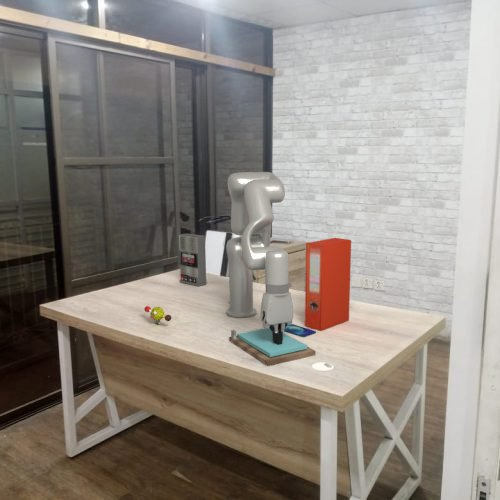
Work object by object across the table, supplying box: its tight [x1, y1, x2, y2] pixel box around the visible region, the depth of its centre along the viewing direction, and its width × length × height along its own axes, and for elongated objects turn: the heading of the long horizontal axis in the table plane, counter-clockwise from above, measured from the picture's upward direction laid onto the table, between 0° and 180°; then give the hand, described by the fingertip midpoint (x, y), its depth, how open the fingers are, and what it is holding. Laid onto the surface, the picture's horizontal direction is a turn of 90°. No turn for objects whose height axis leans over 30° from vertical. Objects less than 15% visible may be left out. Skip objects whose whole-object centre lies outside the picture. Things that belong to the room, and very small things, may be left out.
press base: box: [228, 329, 316, 367], centre depth 175 cm, size 26×18×4 cm
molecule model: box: [144, 305, 172, 326], centre depth 202 cm, size 18×6×7 cm, turn 40°
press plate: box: [236, 327, 308, 357], centre depth 175 cm, size 23×14×1 cm, turn 29°
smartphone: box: [283, 323, 317, 338], centre depth 193 cm, size 8×1×15 cm
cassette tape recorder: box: [178, 233, 208, 287], centre depth 265 cm, size 14×6×25 cm, turn 50°
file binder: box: [304, 237, 352, 332], centre depth 197 cm, size 8×17×32 cm, turn 134°
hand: (277, 343), depth 171 cm, fingers closed
